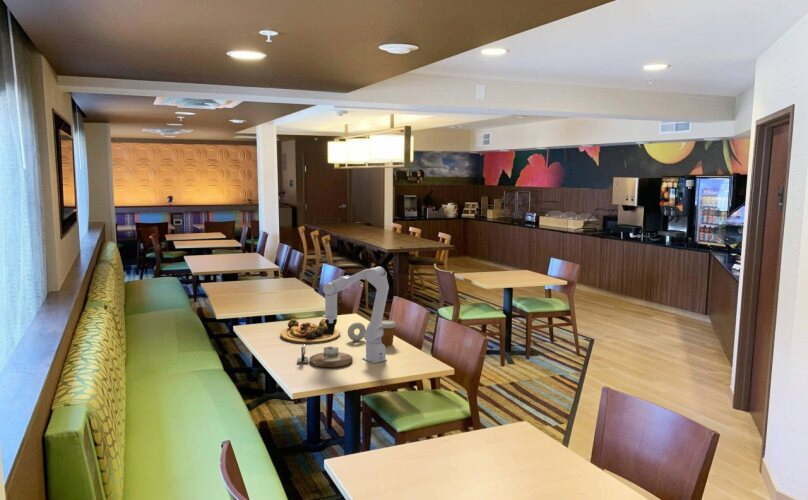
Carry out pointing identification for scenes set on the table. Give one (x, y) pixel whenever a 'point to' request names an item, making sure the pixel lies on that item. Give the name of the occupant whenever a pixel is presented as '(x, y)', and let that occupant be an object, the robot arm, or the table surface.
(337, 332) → the wooden plate with food
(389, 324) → the disposable coffee cup
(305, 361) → the dial gauge
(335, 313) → the robot arm
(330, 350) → the cover
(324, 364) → the turntable
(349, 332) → the donut
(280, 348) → the table surface
